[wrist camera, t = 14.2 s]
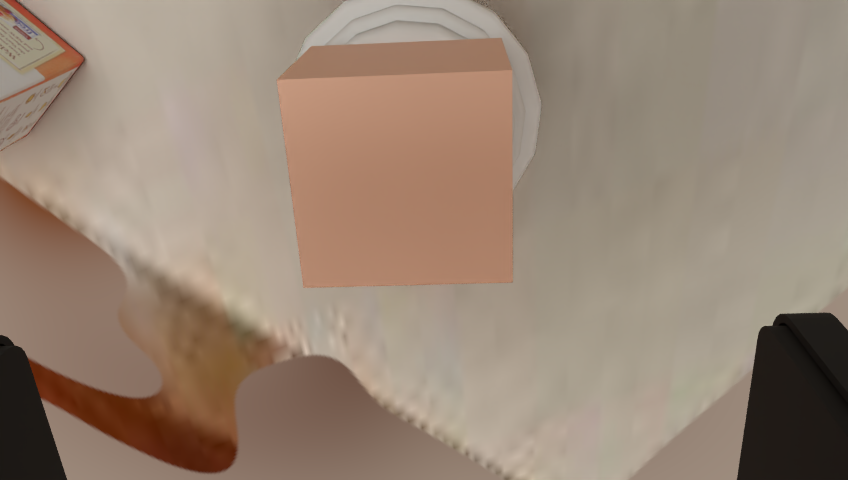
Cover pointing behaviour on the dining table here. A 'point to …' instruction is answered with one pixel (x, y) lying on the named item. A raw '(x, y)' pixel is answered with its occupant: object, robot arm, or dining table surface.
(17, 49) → the cracker box
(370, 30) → the coffee cup
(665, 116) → the dining table surface
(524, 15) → the dining table surface
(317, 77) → the stacking block
